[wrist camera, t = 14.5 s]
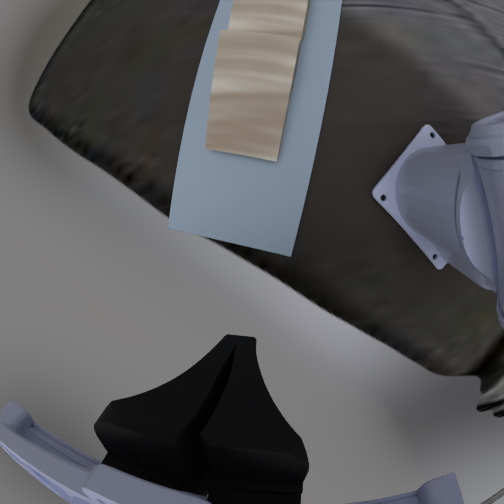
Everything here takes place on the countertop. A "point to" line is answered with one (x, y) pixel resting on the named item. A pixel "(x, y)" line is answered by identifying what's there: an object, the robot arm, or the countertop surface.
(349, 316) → the countertop surface
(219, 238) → the mat
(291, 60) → the domino
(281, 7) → the domino
